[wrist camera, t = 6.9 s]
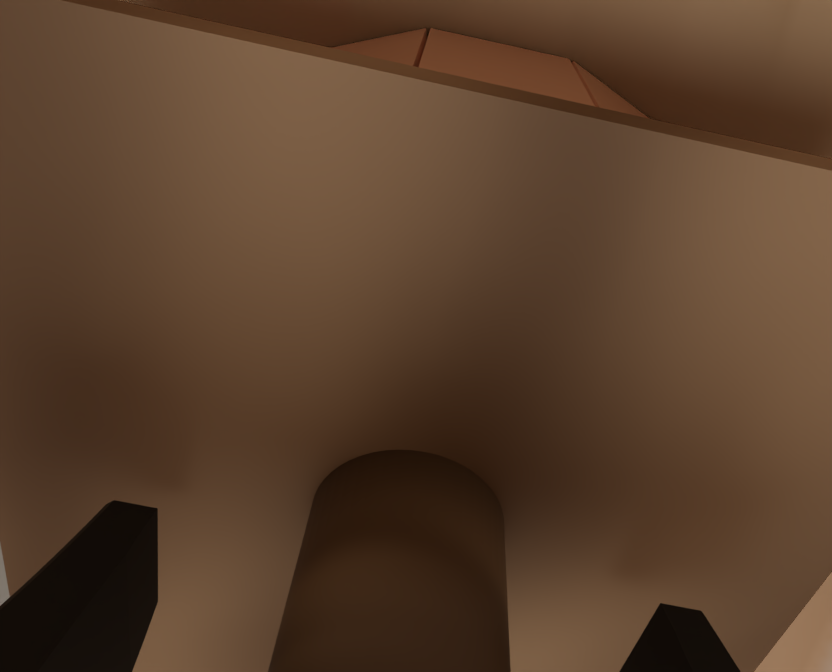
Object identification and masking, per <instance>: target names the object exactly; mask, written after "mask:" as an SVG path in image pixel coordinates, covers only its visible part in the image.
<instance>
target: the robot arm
mask: <svg viewBox="0 0 832 672" xmlns="http://www.w3.org/2000/svg"><path fill="white" fill-rule="evenodd" d="M157 603H158V508H153V507H148V506H143V505H138V504H132V503H127V502H122V501H116V500H113V501H111V502H109V503H108V504H106V505H105V506H104V507H103V508H102V509H101V510H100V511H99V512H98V513H97V514H96V515H95V516H94V517H93V518H92V519H91V520H90V521H89V522H88V523H87V524H86V525H85V526H84V527H83V528H82V529H81V530H80V531H79V532H78V533H77V534H76V535H75V536H74V537H73V538H72V539H71V540H70V541H69V542H68V543H67V544H66V545H65V546H64V547H63V548H62V549H61V550H60V551H59V552H58V553H57V554H56V555H55V556H54V557H53V558H52V559H50V560H49V561H48V562H47V563H46V564H45V565H44V566H43V567H42V568H41V569H40V570H39V571H38V572H37V573H36V574H35V575H34V576H32V577H31V578H30V579H29V580H28V581H27V582H26V583H25V584H24V585H23V586H22V587H21V588H19V589H18V590H17V591H16V592H15V593H14V594H13V595H12V596H11V597H9V598H8V599H7V600H6V601H5V602H4V603H3V604H2V605H1V606H0V672H132V671H133V668H134V666H135V663H136V660H137V658H138V655H139V652H140V650H141V647H142V644H143V642H144V639H145V636H146V634H147V631H148V628H149V625H150V622H151V620H152V617H153V614H154V611H155V609H156V606H157ZM619 672H740V670H739V668H738V667H737V665H736V664H735V662H734V660H733V659H732V657H731V656H730V654H729V653H728V651H727V649H726V648H725V646H724V645H723V643H722V642H721V640H720V638H719V637H718V635H717V634H716V632H715V631H714V629H713V627H712V626H711V624H710V623H709V621H708V620H707V618H706V617H705V615H704V614H703V612H702V611H700V610H695V609H690V608H684V607H679V606H674V605H668V604H663V603H660V604H659V606H658V608H657V609H656V611H655V613H654V614H653V616H652V618H651V619H650V621H649V623H648V625H647V626H646V628H645V630H644V631H643V633H642V635H641V636H640V638H639V640H638V641H637V643H636V645H635V646H634V648H633V650H632V651H631V653H630V655H629V656H628V658H627V660H626V661H625V663H624V665H623V666H622V668H621V670H620V671H619Z"/></svg>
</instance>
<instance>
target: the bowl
mask: <svg viewBox="0 0 832 672" xmlns="http://www.w3.org/2000/svg"><path fill="white" fill-rule="evenodd" d="M332 48H334V49H339V50H343V51H348V52H352V53H357V54H361V55H366V56H370V57H375V58H379V59H384V60H388V61H393V62H397V63H402V64H406V65H411V66H415V67H420V68H424V69H429V70H433V71H438V72H442V73H447V74H451V75H456V76H460V77H465V78H469V79H474V80H478V81H483V82H487V83H492V84H496V85H501V86H505V87H510V88H514V89H519V90H523V91H528V92H532V93H537V94H541V95H546V96H550V97H555V98H559V99H564V100H568V101H573V102H577V103H582V104H586V105H591V106H595V107H600V108H604V109H609V110H613V111H618V112H622V113H627V114H631V115H636V116H640V117H645V118H648V117H647V116H645V115H644V114H643V113H641V112H640V111H639V110H637V109H636V108H635V107H634V106H632V105H631V104H630V103H628V102H627V101H626V100H624V99H623V98H622V97H620V96H619V95H618V94H616V93H615V92H614V91H613V90H611V89H610V88H609V87H607V86H606V85H605V84H603V83H602V82H601V81H599V80H598V79H597V78H595V77H594V76H593V75H592V74H590V73H589V72H588V71H586V70H585V69H584V68H582V67H581V66H580V65H578V64H577V63H576V62H574V61H573V62H572V63H571V61H570V59H568V58H564V57H559V56H555V55H550V54H546V53H541V52H537V51H532V50H528V49H523V48H519V47H514V46H510V45H505V44H501V43H496V42H492V41H487V40H483V39H478V38H473V37H469V36H464V35H460V34H455V33H451V32H446V31H442V30H437V29H433V28H431V29H430V32H429V35H428V37H427V31H426V28H423V29H419V30H414V31H409V32H404V33H399V34H395V35H390V36H385V37H380V38H375V39H370V40H366V41H361V42H356V43H351V44H346V45H341V46H337V47H332Z"/></svg>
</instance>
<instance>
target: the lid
mask: <svg viewBox="0 0 832 672" xmlns="http://www.w3.org/2000/svg"><path fill="white" fill-rule="evenodd" d="M113 500H116V501H122V502H127V503H132V504H138V505H143V506H148V507H153V508H158V603H157V606H156V609H155V611H154V614H153V617H152V620H151V622H150V625H149V628H148V631H147V634H146V636H145V639H144V642H143V644H142V647H141V650H140V652H139V655H138V658H137V660H136V663H135V666H134V668H133V671H132V672H619V671H620V670H621V668H622V666H623V665H624V663H625V661H626V660H627V658H628V656H629V655H630V653H631V651H632V650H633V648H634V646H635V645H636V643H637V641H638V640H639V638H640V636H641V635H642V633H643V631H644V630H645V628H646V626H647V625H648V623H649V621H650V619H651V618H652V616H653V614H654V613H655V611H656V609H657V608H658V606H659V604H660V603H663V604H668V605H674V606H679V607H684V608H690V609H695V610H700V611H702V612H703V614H704V615H705V617H706V618H707V620H708V621H709V623H710V624H711V626H712V627H713V629H714V631H715V632H716V634H717V635H718V637H719V638H720V640H721V642H722V643H723V645H724V646H725V648H726V649H727V651H728V653H729V654H730V656H731V657H732V659H733V660H734V662H735V664H736V665H737V667H738V668H739V670H740V672H754V671H755V670H756V668H757V667H758V666H759V665H760V663H761V662H762V661H763V659H764V658H765V657H766V656H767V654H768V653H769V652H770V650H771V649H772V648H773V647H774V645H775V644H776V643H777V641H778V640H779V639H780V638H781V636H782V635H783V634H784V632H785V631H786V630H787V629H788V627H789V626H790V625H791V623H792V622H793V621H794V620H795V618H796V617H797V616H798V614H799V613H800V612H801V611H802V609H803V608H804V607H805V605H806V604H807V603H808V602H809V600H810V599H811V598H812V596H813V595H814V594H815V593H816V591H817V590H818V589H819V587H820V586H821V585H822V584H823V582H824V581H825V580H826V579H827V577H828V576H829V575H830V573H831V572H832V159H829V158H825V157H820V156H816V155H811V154H807V153H802V152H798V151H793V150H789V149H784V148H780V147H775V146H771V145H766V144H762V143H757V142H753V141H748V140H744V139H739V138H735V137H730V136H726V135H721V134H717V133H712V132H708V131H703V130H699V129H694V128H690V127H685V126H681V125H676V124H672V123H667V122H663V121H658V120H654V119H649V118H645V117H640V116H636V115H631V114H627V113H622V112H618V111H613V110H609V109H604V108H600V107H595V106H591V105H586V104H582V103H577V102H573V101H568V100H564V99H559V98H555V97H550V96H546V95H541V94H537V93H532V92H528V91H523V90H519V89H514V88H510V87H505V86H501V85H496V84H492V83H487V82H483V81H478V80H474V79H469V78H465V77H460V76H456V75H451V74H447V73H442V72H438V71H433V70H429V69H424V68H420V67H415V66H411V65H406V64H402V63H397V62H393V61H388V60H384V59H379V58H375V57H370V56H366V55H361V54H357V53H352V52H348V51H343V50H339V49H334V48H330V47H325V46H321V45H316V44H312V43H307V42H303V41H298V40H294V39H289V38H285V37H280V36H276V35H271V34H267V33H262V32H258V31H253V30H249V29H244V28H240V27H235V26H231V25H226V24H222V23H217V22H213V21H208V20H204V19H199V18H195V17H190V16H186V15H181V14H177V13H172V12H168V11H163V10H159V9H154V8H150V7H145V6H141V5H136V4H132V3H127V2H123V1H118V0H0V544H1V550H2V555H3V561H4V567H5V572H6V578H7V584H8V590H9V595H10V597H11V596H12V595H13V594H14V593H15V592H16V591H17V590H18V589H19V588H21V587H22V586H23V585H24V584H25V583H26V582H27V581H28V580H29V579H30V578H31V577H32V576H34V575H35V574H36V573H37V572H38V571H39V570H40V569H41V568H42V567H43V566H44V565H45V564H46V563H47V562H48V561H49V560H50V559H52V558H53V557H54V556H55V555H56V554H57V553H58V552H59V551H60V550H61V549H62V548H63V547H64V546H65V545H66V544H67V543H68V542H69V541H70V540H71V539H72V538H73V537H74V536H75V535H76V534H77V533H78V532H79V531H80V530H81V529H82V528H83V527H84V526H85V525H86V524H87V523H88V522H89V521H90V520H91V519H92V518H93V517H94V516H95V515H96V514H97V513H98V512H99V511H100V510H101V509H102V508H103V507H104V506H105V505H106V504H108V503H109V502H111V501H113Z"/></svg>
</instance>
